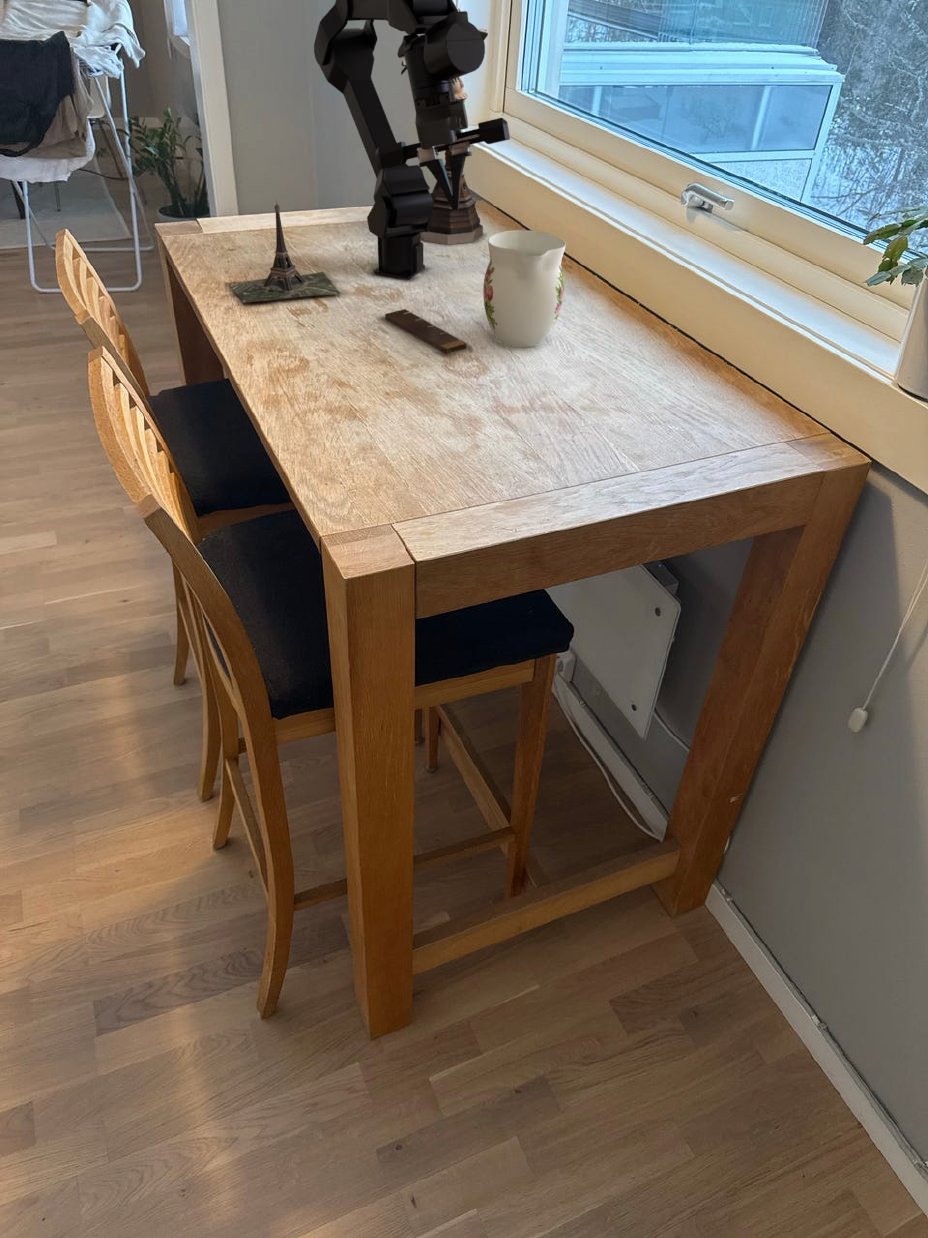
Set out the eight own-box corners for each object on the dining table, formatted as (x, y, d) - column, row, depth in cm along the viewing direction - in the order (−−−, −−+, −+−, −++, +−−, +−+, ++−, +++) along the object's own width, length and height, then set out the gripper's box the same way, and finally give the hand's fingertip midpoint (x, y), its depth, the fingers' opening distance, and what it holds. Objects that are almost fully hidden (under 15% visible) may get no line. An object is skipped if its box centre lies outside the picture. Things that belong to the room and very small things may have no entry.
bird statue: (390, 221, 167) (384, -6, 145) (453, 214, 172) (458, -7, 149) (424, 248, 156) (423, 5, 134) (491, 240, 160) (502, 4, 138)
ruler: (385, 319, 130) (384, 312, 130) (404, 314, 132) (404, 308, 132) (445, 354, 121) (446, 347, 121) (466, 348, 123) (466, 342, 123)
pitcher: (549, 312, 134) (558, 215, 126) (566, 361, 121) (577, 257, 112) (476, 311, 134) (480, 214, 125) (485, 361, 120) (490, 256, 111)
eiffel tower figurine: (242, 307, 132) (230, 211, 124) (229, 284, 140) (216, 192, 131) (340, 296, 137) (335, 203, 128) (322, 274, 144) (316, 185, 136)
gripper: (356, 100, 117) (385, 228, 124) (496, 66, 114) (518, 198, 121) (370, 104, 127) (396, 222, 134) (499, 72, 124) (519, 194, 131)
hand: (455, 210), depth 129 cm, fingers closed
